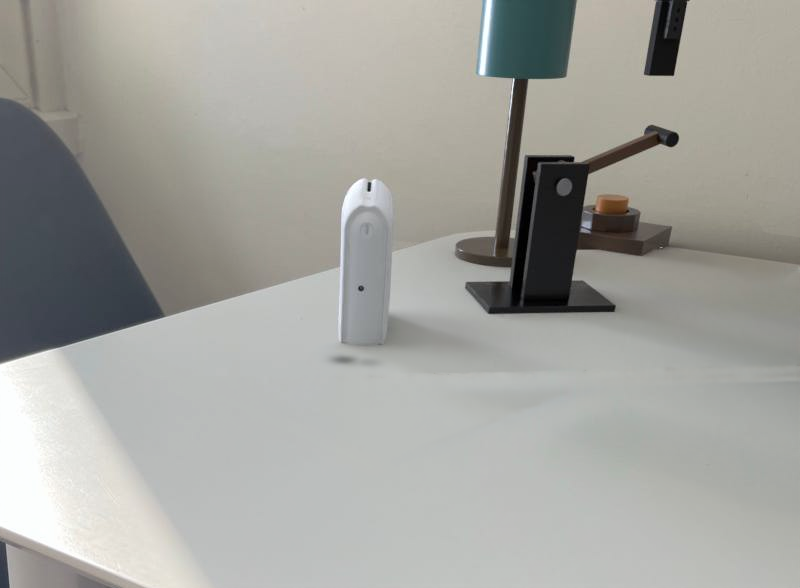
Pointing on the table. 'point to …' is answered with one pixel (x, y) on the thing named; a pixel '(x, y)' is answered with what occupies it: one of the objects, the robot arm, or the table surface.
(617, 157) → the switch lever
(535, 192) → the switch bracket
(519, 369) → the table surface
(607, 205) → the lamp button
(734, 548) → the table surface
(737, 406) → the table surface
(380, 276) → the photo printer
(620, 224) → the block
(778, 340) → the table surface
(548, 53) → the lamp
